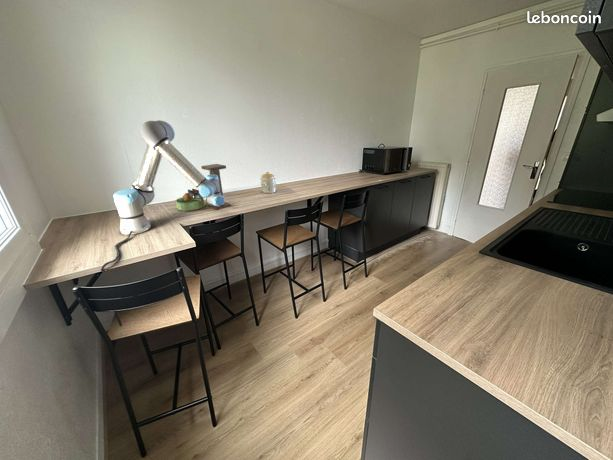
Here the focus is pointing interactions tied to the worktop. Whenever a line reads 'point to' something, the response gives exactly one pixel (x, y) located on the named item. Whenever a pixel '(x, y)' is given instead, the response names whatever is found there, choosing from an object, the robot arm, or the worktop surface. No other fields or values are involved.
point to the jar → (268, 183)
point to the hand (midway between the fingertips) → (190, 190)
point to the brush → (187, 197)
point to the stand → (215, 170)
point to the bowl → (189, 204)
